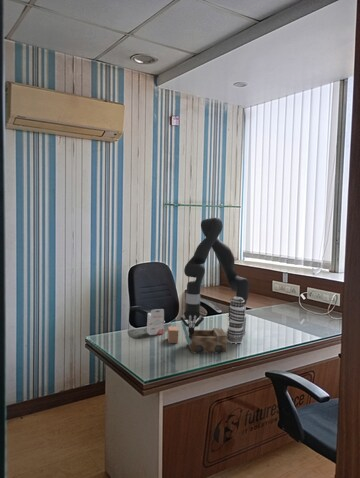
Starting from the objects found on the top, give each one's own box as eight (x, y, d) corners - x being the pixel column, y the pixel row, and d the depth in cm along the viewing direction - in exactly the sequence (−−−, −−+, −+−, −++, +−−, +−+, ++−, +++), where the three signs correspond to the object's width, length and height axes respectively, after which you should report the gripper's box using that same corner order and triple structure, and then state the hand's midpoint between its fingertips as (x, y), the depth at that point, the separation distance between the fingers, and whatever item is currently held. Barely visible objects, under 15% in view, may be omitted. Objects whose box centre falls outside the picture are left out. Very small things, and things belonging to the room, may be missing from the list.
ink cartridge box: (159, 331, 235) (161, 306, 234) (163, 333, 231) (164, 308, 230) (146, 332, 232) (147, 307, 230) (149, 335, 227) (151, 310, 226)
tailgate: (188, 336, 216) (182, 320, 215) (191, 345, 204) (186, 327, 203) (185, 337, 216) (180, 321, 215) (188, 346, 204) (183, 328, 203)
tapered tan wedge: (176, 338, 224) (177, 326, 224) (177, 343, 217) (178, 330, 217) (167, 338, 224) (168, 326, 223) (168, 343, 217) (169, 330, 216)
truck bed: (220, 343, 220) (221, 327, 219) (226, 353, 206) (227, 336, 205) (187, 343, 218) (188, 327, 217) (191, 353, 204) (192, 335, 203)
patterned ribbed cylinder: (223, 339, 228) (226, 296, 225) (237, 338, 231) (240, 295, 229) (231, 344, 219) (234, 300, 217) (245, 343, 223) (249, 299, 220)
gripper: (204, 300, 213) (202, 332, 215) (179, 299, 211) (177, 331, 213) (206, 303, 206) (204, 336, 207) (181, 303, 204) (179, 336, 205)
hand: (190, 334), depth 210 cm, fingers closed
